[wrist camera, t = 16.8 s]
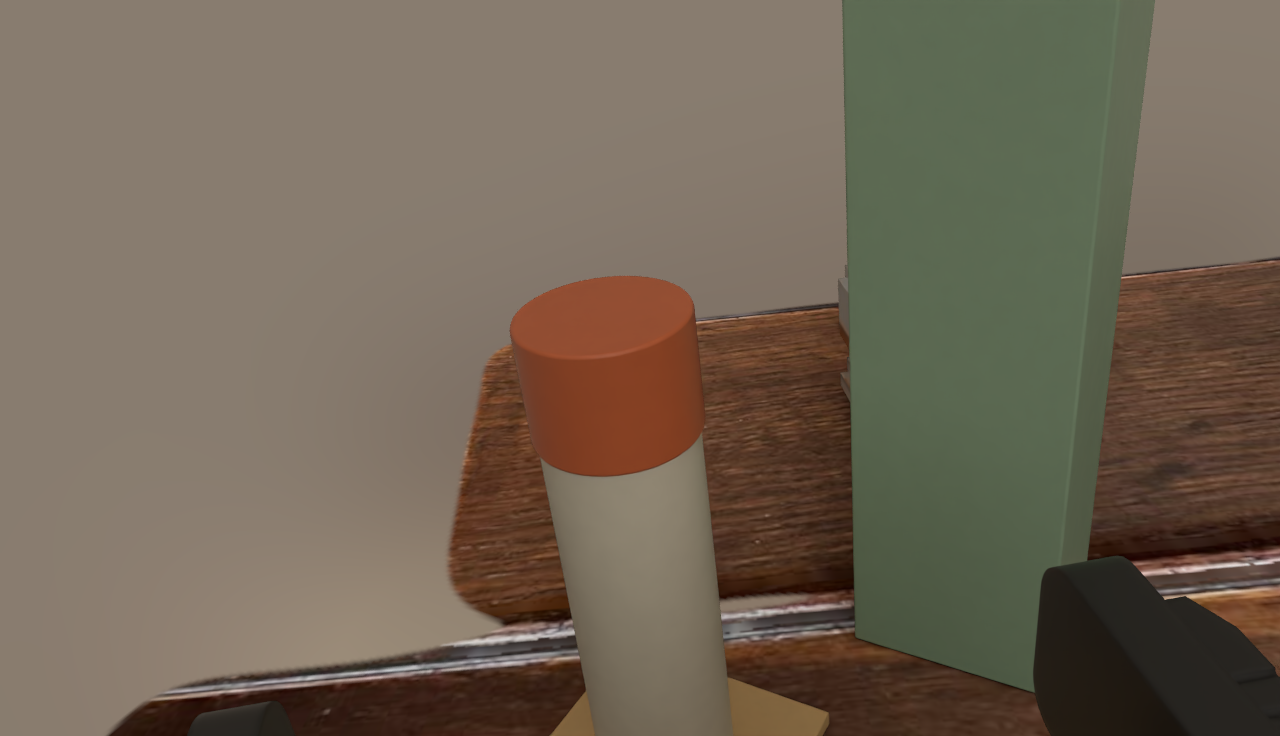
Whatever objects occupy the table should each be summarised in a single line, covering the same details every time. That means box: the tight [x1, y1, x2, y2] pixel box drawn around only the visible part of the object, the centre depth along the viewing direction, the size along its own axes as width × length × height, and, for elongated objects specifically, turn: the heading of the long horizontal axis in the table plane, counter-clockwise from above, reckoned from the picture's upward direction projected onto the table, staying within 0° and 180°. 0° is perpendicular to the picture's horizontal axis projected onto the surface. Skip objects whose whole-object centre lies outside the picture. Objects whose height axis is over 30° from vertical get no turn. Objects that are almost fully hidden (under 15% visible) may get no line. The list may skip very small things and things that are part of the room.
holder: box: [842, 0, 1155, 693], centre depth 20 cm, size 7×7×31 cm
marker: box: [510, 276, 733, 736], centre depth 21 cm, size 3×3×12 cm
